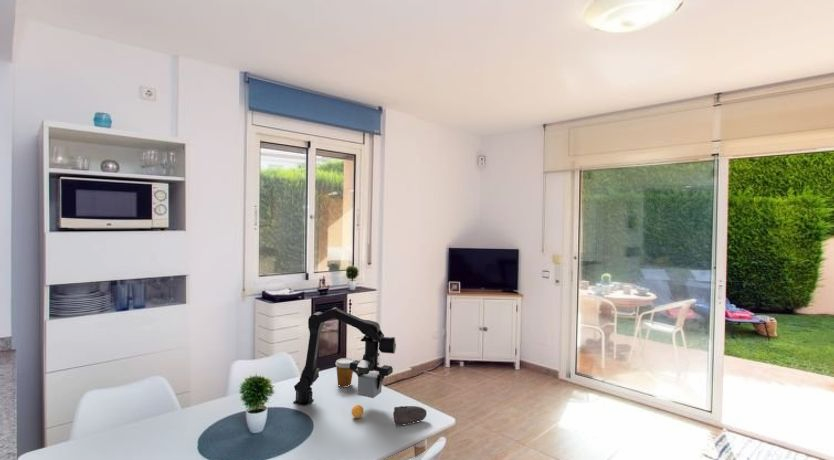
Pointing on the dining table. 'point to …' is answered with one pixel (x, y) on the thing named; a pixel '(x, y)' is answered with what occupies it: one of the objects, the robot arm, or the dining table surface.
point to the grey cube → (368, 385)
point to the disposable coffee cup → (344, 371)
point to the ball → (357, 411)
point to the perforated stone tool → (408, 414)
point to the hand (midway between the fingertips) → (369, 387)
